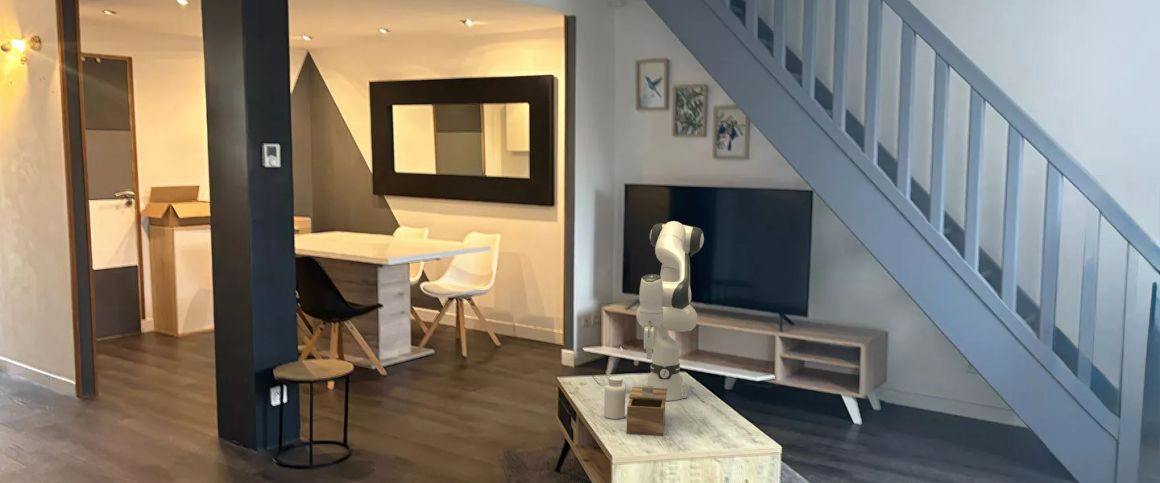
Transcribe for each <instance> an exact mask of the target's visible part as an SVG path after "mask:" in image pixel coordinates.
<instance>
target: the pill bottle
mask: <svg viewBox="0 0 1160 483" xmlns="http://www.w3.org/2000/svg"><path fill="white" fill-rule="evenodd" d="M603 403H604V404H603V405H604V406H603V410H604V411H603V415H604V417H605V418H606V419H612V420H620V419H623V418H624V417H625V413H626V386H625V385H624V384H623V377H621V376H610V377H608V384H606V385H605V386H604V402H603Z"/></svg>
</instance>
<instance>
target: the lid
mask: <svg viewBox="0 0 1160 483" xmlns="http://www.w3.org/2000/svg"><path fill="white" fill-rule="evenodd" d="M666 395H667V389H664V388H654V386H647V385H642V386H632V388H631V390H630V393H629V397H628V399H629V400H630V399H643V400H661V401H665V402H666Z"/></svg>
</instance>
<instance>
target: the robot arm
mask: <svg viewBox="0 0 1160 483" xmlns="http://www.w3.org/2000/svg"><path fill="white" fill-rule="evenodd" d="M649 240H650V244H651V245H652V247H653V248H654V252H655V253H654V254H655V256H656V259H657V260H658V261H659V262H660V263H661V268H660V274H654V273H652V274H651V273H650V274H646V275H643V276H642V277H641V280H640V285H639V293H638V294H639V295H638V297H639V298H638V301H639V306H638V308H637V310H636V320H637V322H638V324H639V325H640V326H641V328H642V329H643V330H644V331H643V349H644V350H645V352H646V360H651V362H650V373H649V374H648V375H647V376H646V386H654V388H664V389H667V395H666V401H669V402H671V401H677V400H681V399H687V398H688V393H687V392H686V390H685V389H684V378H683V376H682V375H681V374H680V372H681V371H680V370H681V365H680V364H681V363H680V345H679V343H678V342H677V341H676V340H675V339H674V338H672V337H671V336H670V335H669V333H668V331H673V332H680V333H681V332H691V331H692V330H693V329H695V328H696V326H697V324H698V313H697V310H695V308H694V307H693V306H692V305H691V302H692V291H691V290H692V289H691V259H690V257H693V255H694V254H697V253H698V252H700V251H701V248H702V247H703V245H704V241H705V237H704V231H703V229H701V228H700V227H696V226H690V225H686V224H682V223H681V222H679V221H675V220H673V221H672V220H671V221H668V222H666V223H663V222H661V223H655V224H654V225H653V226H652V228H651V230H650V233H649ZM666 401H665V402H666Z"/></svg>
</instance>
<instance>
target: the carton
mask: <svg viewBox="0 0 1160 483" xmlns="http://www.w3.org/2000/svg"><path fill="white" fill-rule="evenodd" d="M626 411H627V412H626V434H629V435H644V436H645V435H646V436H660V437H661V436H662V437H663V436H664V431H665V425H666V401H661V400H643V399H629V400H628V404H627V407H626Z"/></svg>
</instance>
